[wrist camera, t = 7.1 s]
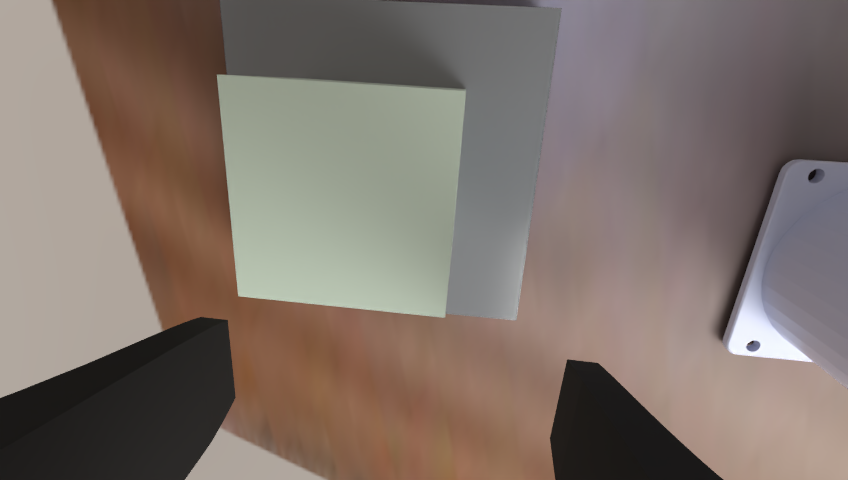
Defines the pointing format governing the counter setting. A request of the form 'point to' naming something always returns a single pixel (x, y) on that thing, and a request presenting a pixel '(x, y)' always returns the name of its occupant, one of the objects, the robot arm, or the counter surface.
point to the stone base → (433, 67)
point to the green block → (342, 190)
